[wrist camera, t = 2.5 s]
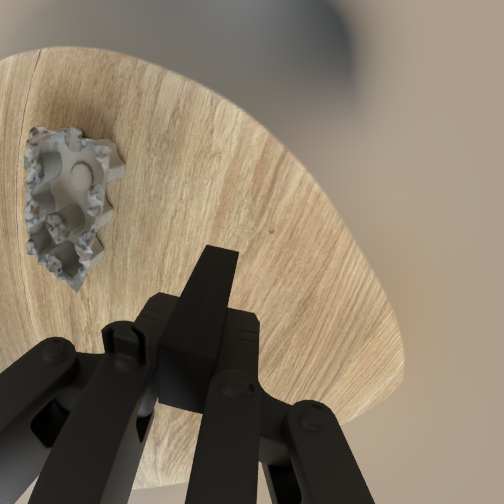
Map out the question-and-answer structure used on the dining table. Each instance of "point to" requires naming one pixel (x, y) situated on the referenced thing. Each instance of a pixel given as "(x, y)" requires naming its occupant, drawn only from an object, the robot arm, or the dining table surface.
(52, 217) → the egg carton
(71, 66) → the dining table surface
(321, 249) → the dining table surface
